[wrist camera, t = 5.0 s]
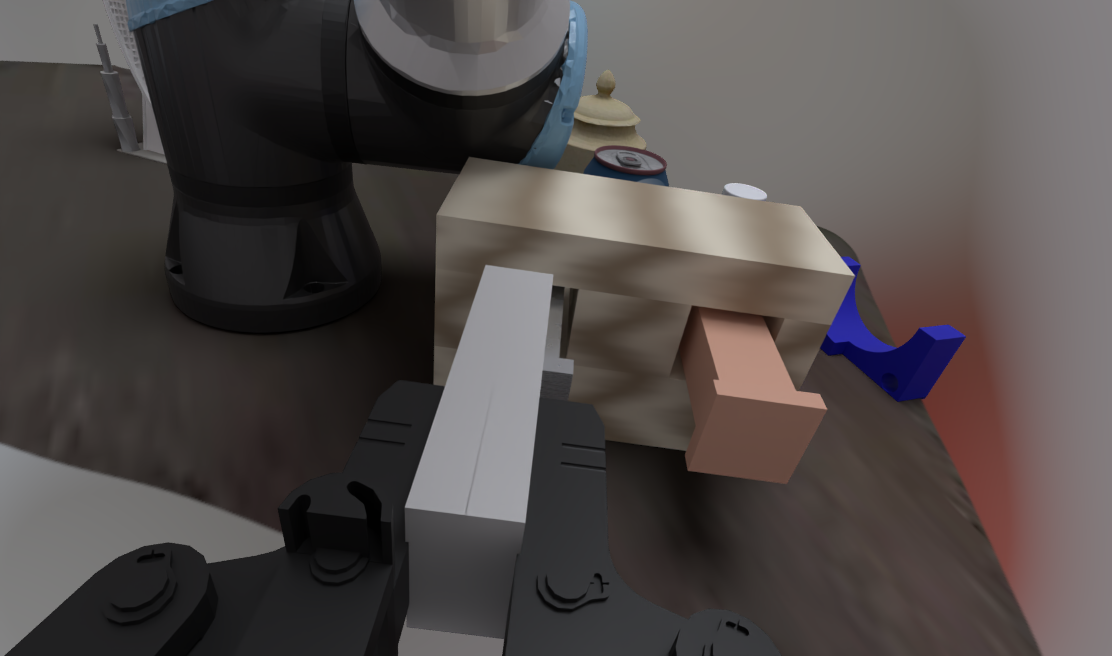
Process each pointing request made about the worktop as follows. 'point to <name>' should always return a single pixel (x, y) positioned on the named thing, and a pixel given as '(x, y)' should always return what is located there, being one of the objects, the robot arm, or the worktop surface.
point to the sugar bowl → (599, 127)
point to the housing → (634, 280)
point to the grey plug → (555, 353)
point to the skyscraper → (121, 118)
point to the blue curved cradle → (891, 350)
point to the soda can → (628, 165)
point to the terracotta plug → (743, 399)
